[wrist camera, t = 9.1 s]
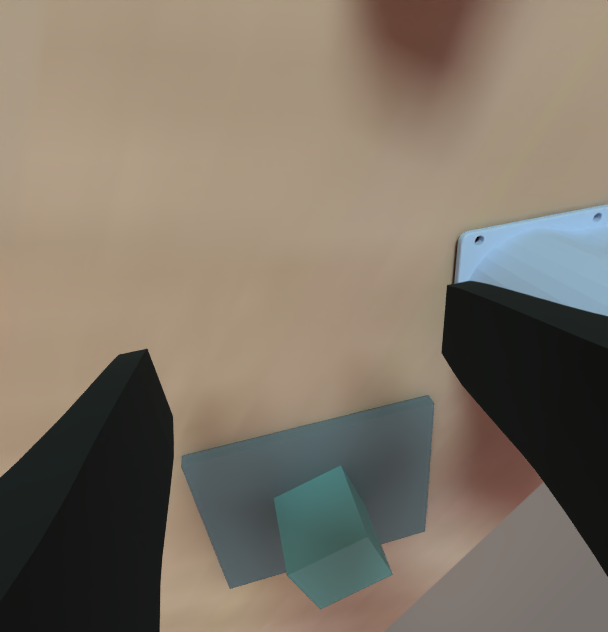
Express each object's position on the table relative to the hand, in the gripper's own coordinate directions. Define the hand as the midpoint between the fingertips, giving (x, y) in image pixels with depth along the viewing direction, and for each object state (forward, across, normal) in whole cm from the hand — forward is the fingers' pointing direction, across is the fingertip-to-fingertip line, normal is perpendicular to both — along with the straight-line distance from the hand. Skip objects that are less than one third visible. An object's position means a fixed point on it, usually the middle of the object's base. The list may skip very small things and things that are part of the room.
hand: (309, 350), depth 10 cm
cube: (+10, -1, +20) cm, 22 cm away
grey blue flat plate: (+10, -1, +20) cm, 23 cm away
